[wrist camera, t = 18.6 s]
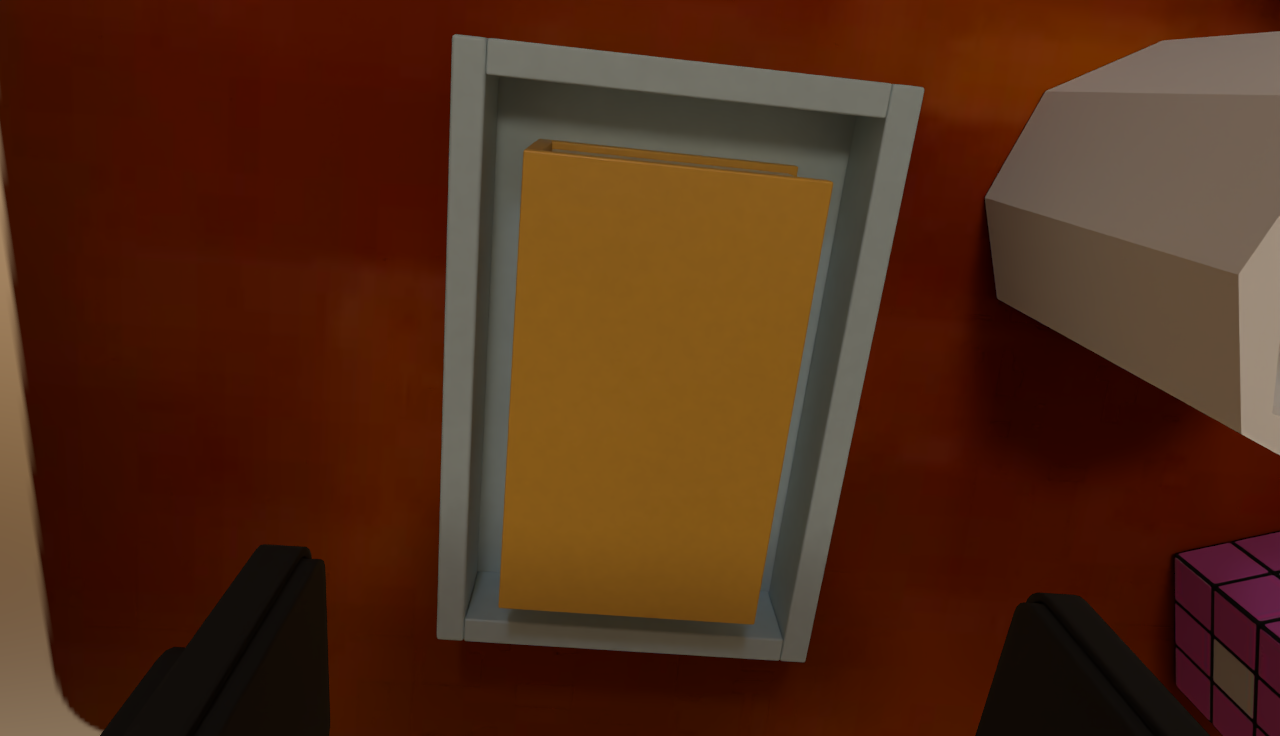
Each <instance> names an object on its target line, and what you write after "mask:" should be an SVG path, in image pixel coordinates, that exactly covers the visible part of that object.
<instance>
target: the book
mask: <svg viewBox="0 0 1280 736" xmlns="http://www.w3.org/2000/svg"><path fill="white" fill-rule="evenodd" d="M797 173H798V167H797V166H795V165H787V164H778V163H768V162H759V161H749V160H740V159H730V158H721V157H711V156H702V155H692V154H683V153H673V152H664V151H654V150H645V149H635V148H626V147H616V146H607V145H597V144H588V143H578V142H569V141H559V140H550V139H538V140H537V141H535V142H534V143H533V144H531V145H530V146H529V147H527V148H526V149H525V150H524V151H523V167H522V185H521V203H520V221H519V239H518V258H517V276H516V294H515V312H514V330H513V349H512V367H511V385H510V403H509V422H508V440H507V458H506V476H505V494H504V513H503V531H502V549H501V567H500V585H499V604H498V606H499V608H507V609H522V610H537V611H552V612H567V613H583V614H598V615H613V616H628V617H643V618H659V619H674V620H689V621H704V622H720V623H735V624H750V625H753V624H754V623H755V617H756V612H757V606H758V601H759V595H760V589H761V584H762V578H763V573H764V567H765V562H766V556H767V550H768V545H769V539H770V534H771V528H772V523H773V517H774V511H775V506H776V500H777V495H778V489H779V484H780V478H781V473H782V467H783V461H784V456H785V450H786V445H787V439H788V434H789V428H790V422H791V417H792V411H793V406H794V400H795V395H796V389H797V383H798V378H799V372H800V367H801V361H802V356H803V350H804V344H805V339H806V333H807V328H808V322H809V317H810V311H811V305H812V300H813V294H814V289H815V283H816V278H817V272H818V266H819V261H820V255H821V250H822V244H823V239H824V233H825V228H826V222H827V216H828V211H829V205H830V200H831V194H832V189H833V182H832V181H829V180H824V179H814V178H805V177H797Z"/></svg>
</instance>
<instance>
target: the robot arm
mask: <svg viewBox="0 0 1280 736" xmlns="http://www.w3.org/2000/svg"><path fill="white" fill-rule="evenodd" d="M329 731H330V703H329V671H328V639H327V608H326V576H325V564H324V561H323V560H321V559H312V558H311V553H310V550H309V549H308V548H307V547H297V546H281V545H265V544H264V545H260V546H259V547H258V548H257V549H256V550H255V552H254V553H253V555H252V556H251V557H250V559H249V560H248V562H247V563H246V564H245V566H244V567H243V568H242V570H241V571H240V573H239V574H238V575H237V577H236V578H235V580H234V581H233V582H232V584H231V585H230V587H229V588H228V589H227V591H226V592H225V594H224V595H223V596H222V598H221V599H220V601H219V602H218V603H217V605H216V606H215V607H214V609H213V610H212V612H211V613H210V614H209V616H208V617H207V619H206V620H205V621H204V623H203V624H202V626H201V627H200V628H199V630H198V631H197V633H196V634H195V635H194V637H193V638H192V640H191V641H190V642H189V644H188V645H187V647H186V648H181V647H173V648H171V649H169V650H166V651H165V652H164V653H163V654H162V655H161V656H160V657H159V658H158V659H157V660H156V662H155V663H154V664H153V666H152V667H151V668H150V670H149V671H148V672H147V674H146V675H145V676H144V678H143V679H142V680H141V682H140V683H139V684H138V686H137V687H136V688H135V690H134V691H133V692H132V694H131V695H130V696H129V698H128V699H127V700H126V702H125V703H124V704H123V706H122V707H121V708H120V710H119V711H118V712H117V714H116V715H115V716H114V718H113V719H112V720H111V722H110V723H109V724H108V726H107V727H106V728H105V730H104V731H103V732H102V734H101V735H100V736H329ZM976 736H1210V735H1209V734H1208V733H1207V732H1206V731H1205V730H1204V729H1203V728H1202V727H1201V725H1200V724H1199V723H1198V722H1197V721H1196V720H1195V719H1194V718H1193V717H1192V716H1191V715H1190V713H1189V712H1188V711H1187V710H1186V709H1185V708H1184V707H1183V706H1182V705H1181V704H1180V703H1179V702H1178V700H1177V699H1176V698H1175V697H1174V696H1173V695H1172V694H1171V693H1170V692H1169V691H1168V690H1167V689H1166V687H1165V686H1164V685H1163V684H1162V683H1161V682H1160V681H1159V680H1158V679H1157V678H1156V677H1155V676H1154V674H1153V673H1152V672H1151V671H1150V670H1149V669H1148V668H1147V667H1146V666H1145V665H1144V664H1143V663H1142V661H1141V660H1140V659H1139V658H1138V657H1137V656H1136V655H1135V654H1134V653H1133V652H1132V651H1131V650H1130V648H1129V647H1128V646H1127V645H1126V644H1125V643H1124V642H1123V641H1122V640H1121V639H1120V638H1119V637H1118V635H1117V634H1116V633H1115V632H1114V631H1113V630H1112V629H1111V628H1110V627H1109V626H1108V625H1107V624H1106V622H1105V621H1104V620H1103V619H1102V618H1101V617H1100V616H1099V615H1098V614H1097V613H1096V612H1095V611H1094V609H1093V608H1092V607H1091V606H1090V605H1089V604H1088V603H1087V602H1086V601H1085V600H1084V599H1082V598H1081V597H1080V596H1076V595H1067V594H1051V593H1035V594H1032V595H1031V596H1030V597H1029V598H1028V599H1027V602H1026V603H1020V604H1019V605H1018V606H1017V608H1016V610H1015V612H1014V615H1013V618H1012V621H1011V624H1010V628H1009V631H1008V634H1007V637H1006V640H1005V643H1004V647H1003V650H1002V653H1001V656H1000V659H999V663H998V666H997V669H996V672H995V675H994V678H993V682H992V685H991V688H990V691H989V694H988V697H987V701H986V704H985V707H984V710H983V713H982V716H981V720H980V723H979V726H978V729H977V732H976Z"/></svg>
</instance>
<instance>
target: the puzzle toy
mask: <svg viewBox="0 0 1280 736" xmlns="http://www.w3.org/2000/svg"><path fill="white" fill-rule="evenodd" d="M1175 599H1176V601H1175V642H1176V686H1177V687H1178V688H1179V689H1180V690H1181V691H1182V692H1183V693H1184V695H1185V696H1186V697H1187V698H1188V699H1189V700H1190V701H1191V702H1192V703H1193V704H1194V705H1195V706H1196V707H1197V708H1198V709H1199V710H1200V711H1201V713H1202V714H1203V715H1204V716H1205V717H1206V718H1207V719H1208V720H1209V721H1210V722H1211V723H1213V725H1214V726H1215V727H1216V728H1217V730H1218V731H1219V732H1220V733H1221V734H1222V735H1223V736H1280V532H1277V533H1272V534H1268V535H1263V536H1258V537H1254V538H1249V539H1244V540H1240V541H1236V542H1232V543H1226V544H1221V545H1216V546H1212V547H1207V548H1202V549H1197V550H1193V551H1188V552H1183V553H1179V554H1176V555H1175Z"/></svg>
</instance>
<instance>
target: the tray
mask: <svg viewBox="0 0 1280 736" xmlns="http://www.w3.org/2000/svg"><path fill="white" fill-rule="evenodd" d="M923 94H924V88H923V87H917V86H908V85H900V84H890V83H882V82H873V81H865V80H856V79H847V78H838V77H829V76H821V75H812V74H803V73H794V72H785V71H776V70H768V69H759V68H750V67H741V66H732V65H724V64H715V63H706V62H697V61H688V60H680V59H671V58H662V57H653V56H644V55H635V54H627V53H618V52H609V51H600V50H591V49H583V48H574V47H565V46H556V45H547V44H539V43H530V42H521V41H512V40H503V39H494V38H488V39H487V38H484V37H476V36H468V35H459V34H455V35H453V37H452V60H451V99H450V137H449V176H448V215H447V254H446V292H445V331H444V370H443V408H442V447H441V486H440V525H439V563H438V602H437V638H438V639H444V640H460V641H461V640H463V638H464V640H465V641H473V642H488V643H504V644H520V645H536V646H552V647H568V648H584V649H600V650H615V651H631V652H647V653H663V654H679V655H695V656H711V657H727V658H742V659H758V660H774V661H778V660H779V659H780V660H781V661H790V662H805V660H806V656H807V651H808V646H809V641H810V637H811V632H812V627H813V622H814V617H815V613H816V608H817V603H818V598H819V593H820V589H821V584H822V579H823V574H824V569H825V565H826V560H827V555H828V550H829V545H830V541H831V536H832V531H833V526H834V521H835V517H836V512H837V507H838V502H839V497H840V493H841V488H842V483H843V478H844V473H845V469H846V464H847V459H848V454H849V449H850V445H851V440H852V435H853V430H854V425H855V421H856V416H857V411H858V406H859V402H860V397H861V392H862V387H863V382H864V378H865V373H866V368H867V363H868V358H869V354H870V349H871V344H872V339H873V334H874V330H875V325H876V320H877V315H878V310H879V306H880V301H881V296H882V291H883V286H884V282H885V277H886V272H887V267H888V262H889V258H890V253H891V248H892V243H893V238H894V234H895V229H896V224H897V219H898V214H899V210H900V205H901V200H902V195H903V190H904V186H905V181H906V176H907V171H908V166H909V162H910V157H911V152H912V147H913V142H914V138H915V133H916V128H917V123H918V118H919V114H920V109H921V104H922V99H923ZM538 139H550V140H559V141H569V142H578V143H588V144H597V145H607V146H616V147H626V148H635V149H645V150H654V151H664V152H673V153H683V154H692V155H702V156H711V157H721V158H730V159H740V160H749V161H759V162H768V163H778V164H787V165H795V166H797V167H798V173H797V177H805V178H814V179H824V180H829V181H832V182H833V189H832V194H831V200H830V205H829V211H828V216H827V222H826V228H825V233H824V239H823V244H822V250H821V255H820V261H819V266H818V272H817V278H816V283H815V289H814V294H813V300H812V305H811V311H810V317H809V322H808V328H807V333H806V339H805V344H804V350H803V356H802V361H801V367H800V372H799V378H798V383H797V389H796V395H795V400H794V406H793V411H792V417H791V422H790V428H789V434H788V439H787V445H786V450H785V456H784V461H783V467H782V473H781V478H780V484H779V489H778V495H777V500H776V506H775V511H774V517H773V523H772V528H771V534H770V539H769V545H768V550H767V556H766V562H765V567H764V573H763V578H762V584H761V589H760V595H759V601H758V606H757V612H756V617H755V623H754V624H753V625H750V624H735V623H720V622H704V621H689V620H674V619H659V618H643V617H628V616H613V615H598V614H583V613H567V612H552V611H537V610H522V609H507V608H499V606H498V604H499V585H500V567H501V549H502V531H503V513H504V494H505V476H506V458H507V440H508V422H509V403H510V385H511V367H512V349H513V330H514V312H515V294H516V276H517V258H518V239H519V221H520V203H521V185H522V167H523V151H524V150H525V149H526V148H527V147H529V146H530V145H531V144H533V143H534V142H535V141H537V140H538Z"/></svg>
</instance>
